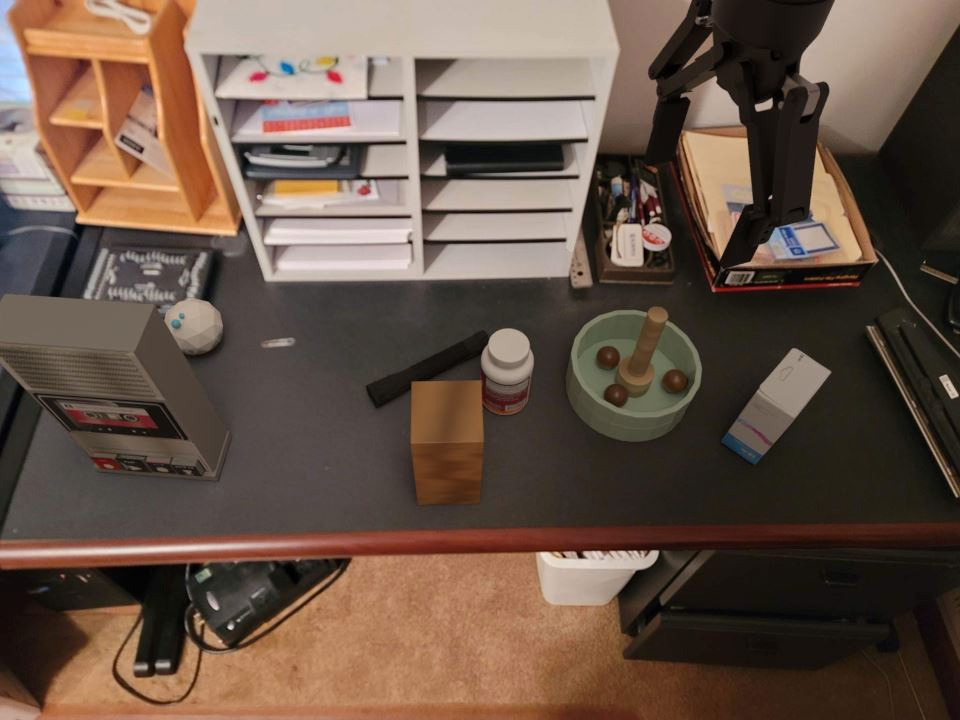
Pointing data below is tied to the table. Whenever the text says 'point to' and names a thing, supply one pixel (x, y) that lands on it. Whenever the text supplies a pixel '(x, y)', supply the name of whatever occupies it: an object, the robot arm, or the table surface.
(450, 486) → the block
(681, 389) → the hazelnut
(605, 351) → the hazelnut
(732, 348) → the table surface
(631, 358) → the pestle
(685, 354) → the bowl
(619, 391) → the hazelnut
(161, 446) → the cassette tape recorder
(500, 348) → the pill bottle
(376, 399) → the flashlight
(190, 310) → the ornament
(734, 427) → the ink box
